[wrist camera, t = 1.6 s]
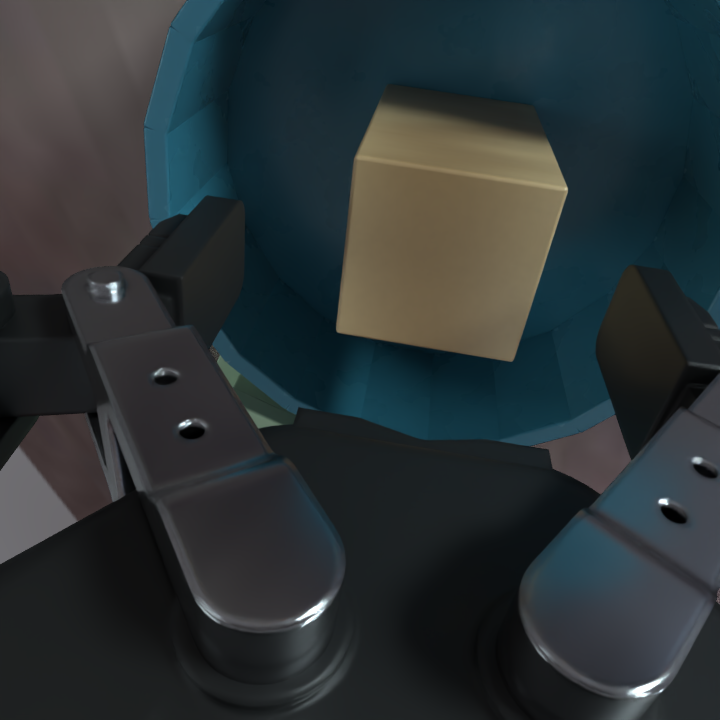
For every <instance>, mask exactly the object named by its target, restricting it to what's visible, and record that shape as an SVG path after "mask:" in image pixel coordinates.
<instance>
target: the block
mask: <svg viewBox="0 0 720 720" xmlns="http://www.w3.org/2000/svg"><path fill="white" fill-rule="evenodd" d="M567 193H568V187H567V185H566V183H565V180H564V178H563V175H562V173H561V170H560V168H559V166H558V163H557V161H556V158H555V156H554V153H553V151H552V148H551V146H550V144H549V141H548V139H547V136H546V134H545V131H544V129H543V127H542V124H541V122H540V119H539V117H538V114H537V112H536V110H535V107H534V106H533V105H527V104H520V103H514V102H507V101H500V100H494V99H487V98H480V97H473V96H467V95H460V94H453V93H447V92H440V91H433V90H427V89H420V88H413V87H406V86H400V85H393V84H388V85H387V86H386V88H385V90H384V92H383V94H382V97H381V99H380V101H379V103H378V105H377V108H376V110H375V112H374V114H373V117H372V119H371V121H370V123H369V126H368V128H367V130H366V132H365V134H364V137H363V139H362V141H361V143H360V146H359V148H358V150H357V152H356V155H355V157H354V161H353V171H352V180H351V190H350V199H349V209H348V218H347V228H346V237H345V247H344V256H343V266H342V275H341V285H340V294H339V304H338V313H337V323H336V331H337V332H338V333H341V334H347V335H353V336H359V337H365V338H371V339H377V340H383V341H389V342H395V343H401V344H407V345H413V346H419V347H425V348H431V349H437V350H443V351H449V352H455V353H461V354H467V355H473V356H479V357H485V358H491V359H497V360H503V361H509V362H511V361H513V360H514V358H515V355H516V352H517V349H518V346H519V343H520V340H521V337H522V333H523V330H524V327H525V324H526V321H527V318H528V315H529V312H530V308H531V305H532V302H533V299H534V296H535V293H536V290H537V287H538V283H539V280H540V277H541V274H542V271H543V268H544V265H545V262H546V259H547V255H548V252H549V249H550V246H551V243H552V240H553V237H554V234H555V230H556V227H557V224H558V221H559V218H560V215H561V212H562V209H563V206H564V202H565V199H566V196H567Z"/></svg>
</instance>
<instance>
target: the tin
mask: <svg viewBox="0 0 720 720" xmlns="http://www.w3.org/2000/svg"><path fill="white" fill-rule="evenodd" d="M388 84H393V85H400V86H406V87H413V88H420V89H427V90H433V91H440V92H447V93H453V94H460V95H467V96H473V97H480V98H487V99H494V100H500V101H507V102H514V103H520V104H527V105H533V106H534V107H535V110H536V112H537V114H538V117H539V119H540V122H541V124H542V127H543V129H544V131H545V134H546V136H547V139H548V141H549V144H550V146H551V148H552V151H553V153H554V156H555V158H556V161H557V163H558V166H559V168H560V170H561V173H562V175H563V178H564V180H565V183H566V185H567V187H568V193H567V196H566V199H565V202H564V206H563V209H562V212H561V215H560V218H559V221H558V224H557V227H556V230H555V234H554V237H553V240H552V243H551V246H550V249H549V252H548V255H547V259H546V262H545V265H544V268H543V271H542V274H541V277H540V280H539V283H538V287H537V290H536V293H535V296H534V299H533V302H532V305H531V308H530V312H529V315H528V318H527V321H526V324H525V327H524V330H523V333H522V337H521V340H520V343H519V346H518V349H517V352H516V355H515V358H514V360H513V361H511V362H509V361H503V360H497V359H491V358H485V357H479V356H473V355H467V354H461V353H455V352H449V351H443V350H437V349H431V348H425V347H419V346H413V345H407V344H401V343H395V342H389V341H383V340H377V339H371V338H365V337H359V336H353V335H347V334H341V333H338V332H337V331H336V323H337V313H338V304H339V294H340V285H341V275H342V266H343V256H344V247H345V237H346V228H347V218H348V209H349V199H350V190H351V180H352V171H353V161H354V157H355V155H356V152H357V150H358V148H359V146H360V143H361V141H362V139H363V137H364V134H365V132H366V130H367V128H368V126H369V123H370V121H371V119H372V117H373V114H374V112H375V110H376V108H377V105H378V103H379V101H380V99H381V97H382V94H383V92H384V90H385V88H386V86H387V85H388ZM144 144H145V161H146V177H147V194H148V210H149V218H150V223H151V226H152V228H154V227H155V226H156V225H157V224H158V223H159V222H161V221H163V220H165V219H168V218H170V217H173V216H175V215H177V214H184V215H189V214H190V212H191V211H192V210H193V209H194V208H195V207H196V206H197V205H198V204H199V202H200V201H201V200H202V199H203V198H204V197H205V196H206V195H210V196H216V197H222V198H228V199H235V200H241V201H242V202H243V204H244V208H245V260H244V279H243V285H242V289H241V292H240V295H239V297H238V299H237V301H236V303H235V304H234V306H233V308H232V310H231V312H230V313H229V315H228V317H227V319H226V320H225V322H224V324H223V326H222V327H221V329H220V331H219V333H218V334H217V336H216V338H215V340H214V342H213V343H212V345H213V346H214V347H215V349H216V350H217V351H218V353H219V354H220V355H221V357H222V358H223V359H224V361H225V362H227V363H228V364H229V365H230V366H231V367H232V368H234V369H235V370H236V371H237V372H239V373H240V374H241V375H242V376H244V377H245V378H246V379H247V380H249V381H250V382H251V383H252V384H254V385H255V386H256V387H257V388H259V389H260V390H261V391H262V392H264V393H265V394H266V395H267V396H269V397H270V398H271V399H272V400H274V401H275V402H276V403H277V404H279V405H280V406H281V407H282V408H284V409H286V410H287V411H289V412H291V413H293V414H295V415H296V414H297V410H298V407H300V408H306V409H312V410H318V411H324V412H330V413H336V414H342V415H347V416H353V417H359V418H362V419H365V420H368V421H371V422H373V423H376V424H379V425H382V426H384V427H387V428H390V429H393V430H396V431H398V432H401V433H404V434H407V435H410V436H412V437H415V438H419V439H423V440H465V439H488V440H494V441H500V442H506V443H512V444H518V445H524V446H533V445H537V444H540V443H544V442H548V441H552V440H556V439H559V438H563V437H567V436H571V435H574V434H578V433H579V432H584V431H586V430H587V429H589V428H591V427H593V426H595V425H597V424H598V423H600V422H602V421H604V420H606V419H608V418H609V417H611V416H613V415H615V411H614V408H613V405H612V402H611V399H610V396H609V394H608V391H607V388H606V385H605V382H604V379H603V376H602V373H601V370H600V367H599V364H598V361H597V358H596V350H595V349H596V339H597V335H598V331H599V328H600V326H601V324H602V321H603V319H604V316H605V314H606V311H607V309H608V307H609V304H610V302H611V299H612V297H613V295H614V292H615V290H616V287H617V285H618V283H619V280H620V278H621V276H622V274H623V272H624V270H625V269H626V268H627V267H628V266H629V265H638V266H645V267H651V268H657V269H663V270H668V271H670V272H671V274H672V275H673V277H674V279H675V280H676V282H677V283H678V285H679V286H680V288H681V290H682V291H683V293H684V294H685V296H686V297H689V298H691V299H692V300H693V301H695V302H696V303H697V304H698V305H700V306H701V307H702V308H704V309H705V310H706V311H707V312H709V314H710V315H711V317H712V318H713V320H714V321H715V323H716V324H717V326H718V330H720V0H186V2H185V3H184V5H183V6H182V8H181V9H180V11H179V12H178V14H177V15H176V17H175V18H174V19H173V21H172V22H171V26H170V27H169V30H168V34H167V37H166V41H165V45H164V49H163V52H162V56H161V60H160V64H159V67H158V71H157V75H156V79H155V83H154V86H153V90H152V94H151V98H150V101H149V105H148V109H147V113H146V116H145V120H144Z"/></svg>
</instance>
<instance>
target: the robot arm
mask: <svg viewBox="0 0 720 720" xmlns="http://www.w3.org/2000/svg"><path fill="white" fill-rule="evenodd" d="M244 260H245V208H244V204H243V202H242V201H241V200H235V199H228V198H222V197H216V196H210V195H206V196H205V197H204V198H203V199H202V200H201V201H200V202H199V204H198V205H197V206H196V207H195V208H194V209H193V210H192V211H191V212H190V214H189V215H184V214H177V215H175V216H173V217H170V218H168V219H165V220H163V221H161V222H159V223H158V224H157V225H156V226H155V227H154V228H153V229H152V230H151V231H150V233H149V235H147V236H146V237H145V238H144V239H143V240H142V241H141V242H140V245H137V246H136V247H135V248H134V249H133V250H132V251H131V252H130V253H129V254H128V255H127V256H126V257H125V258H124V259H123V260H122V261H121V262H120V263H119V264H118V265H117V266H102V267H94V268H89V269H86V270H82V271H80V272H77V273H75V274H73V275H71V276H70V277H69V278H67V279H66V280H65V281H64V283H63V285H62V288H61V290H62V294H54V295H12V292H11V288H10V284H9V280H8V277H7V276H6V274H4V273H3V272H2V271H0V470H1V469H2V468H3V466H4V465H5V463H6V462H7V461H8V459H9V458H10V457H11V455H12V454H13V453H14V451H15V450H16V448H17V447H18V446H19V444H20V443H21V442H22V440H23V439H24V438H25V436H26V435H27V433H28V432H29V431H30V429H31V428H32V427H33V425H34V424H35V422H36V421H37V419H38V418H39V416H44V415H62V414H79V413H85V417H86V421H87V424H88V427H89V430H90V433H91V436H92V439H93V442H94V445H95V448H96V451H97V454H98V457H99V460H100V463H101V466H102V469H103V472H104V475H105V478H106V481H107V484H108V487H109V490H110V494H111V498H112V503H111V504H109V505H107V506H105V507H103V508H101V509H100V510H98V511H96V512H94V513H92V514H91V515H89V516H87V517H85V518H83V519H82V520H80V521H78V522H76V523H74V524H72V525H71V526H69V527H67V528H65V529H63V530H62V531H60V532H58V533H57V534H54V535H53V536H51V537H49V538H47V539H45V540H44V541H42V542H40V543H38V544H36V545H34V546H33V547H31V548H29V549H27V550H25V551H24V552H22V553H20V554H18V555H16V556H15V557H13V558H11V559H9V560H7V561H6V562H4V563H2V564H0V720H720V604H718V603H717V602H716V600H717V592H718V590H719V588H720V330H718V326H717V324H716V323H715V321H714V320H713V318H712V317H711V315H710V314H709V312H707V311H706V310H705V309H704V308H702V307H701V306H700V305H698V304H697V303H696V302H695V301H693V300H692V299H691V298H689V297H686V296H685V294H684V293H683V291H682V290H681V288H680V286H679V285H678V283H677V282H676V280H675V279H674V277H673V275H672V274H671V272H670V271H668V270H663V269H657V268H651V267H645V266H638V265H629V266H628V267H627V268H626V269H625V270H624V272H623V274H622V276H621V278H620V280H619V283H618V285H617V287H616V290H615V292H614V295H613V297H612V299H611V302H610V304H609V307H608V309H607V311H606V314H605V316H604V319H603V321H602V324H601V326H600V328H599V331H598V335H597V339H596V349H595V350H596V358H597V361H598V364H599V367H600V370H601V373H602V376H603V379H604V382H605V385H606V388H607V391H608V394H609V396H610V399H611V402H612V405H613V408H614V411H615V414H616V417H617V420H618V423H619V426H620V429H621V432H622V435H623V438H624V441H625V444H626V447H627V450H628V452H629V455H630V458H631V462H630V463H629V464H628V465H627V466H626V467H625V469H624V470H623V471H622V472H621V473H620V474H619V475H618V476H617V477H616V479H615V480H614V481H613V482H612V483H611V484H610V485H609V486H608V487H607V489H606V490H605V491H604V492H603V493H602V494H599V493H598V492H596V491H595V490H593V489H592V488H590V487H589V486H587V485H585V484H583V483H582V482H580V481H578V480H576V479H574V478H572V477H570V476H568V475H566V474H563V473H561V472H559V471H556V470H554V469H552V464H551V459H550V454H549V450H547V449H541V448H535V447H530V446H524V445H518V444H512V443H506V442H500V441H494V440H488V439H465V440H423V439H419V438H415V437H412V436H410V435H407V434H404V433H401V432H398V431H396V430H393V429H390V428H387V427H384V426H382V425H379V424H376V423H373V422H371V421H368V420H365V419H362V418H359V417H353V416H347V415H342V414H336V413H330V412H324V411H318V410H312V409H306V408H300V407H298V410H297V414H296V417H295V420H294V423H293V424H288V425H276V426H268V427H263V428H258V427H257V426H256V424H255V422H254V421H253V419H252V418H251V416H250V414H249V413H248V411H247V410H246V408H245V406H244V405H243V403H242V402H241V400H240V398H239V397H238V395H237V394H236V392H235V390H234V389H233V387H232V386H231V384H230V382H229V381H228V379H227V378H226V376H225V374H224V373H223V371H222V370H221V368H220V366H219V365H218V363H217V362H216V360H215V358H214V357H213V355H212V354H211V352H210V350H209V349H210V347H211V345H212V343H213V342H214V340H215V338H216V336H217V334H218V333H219V331H220V329H221V327H222V326H223V324H224V322H225V320H226V319H227V317H228V315H229V313H230V312H231V310H232V308H233V306H234V304H235V303H236V301H237V299H238V297H239V295H240V292H241V289H242V285H243V279H244Z"/></svg>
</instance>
